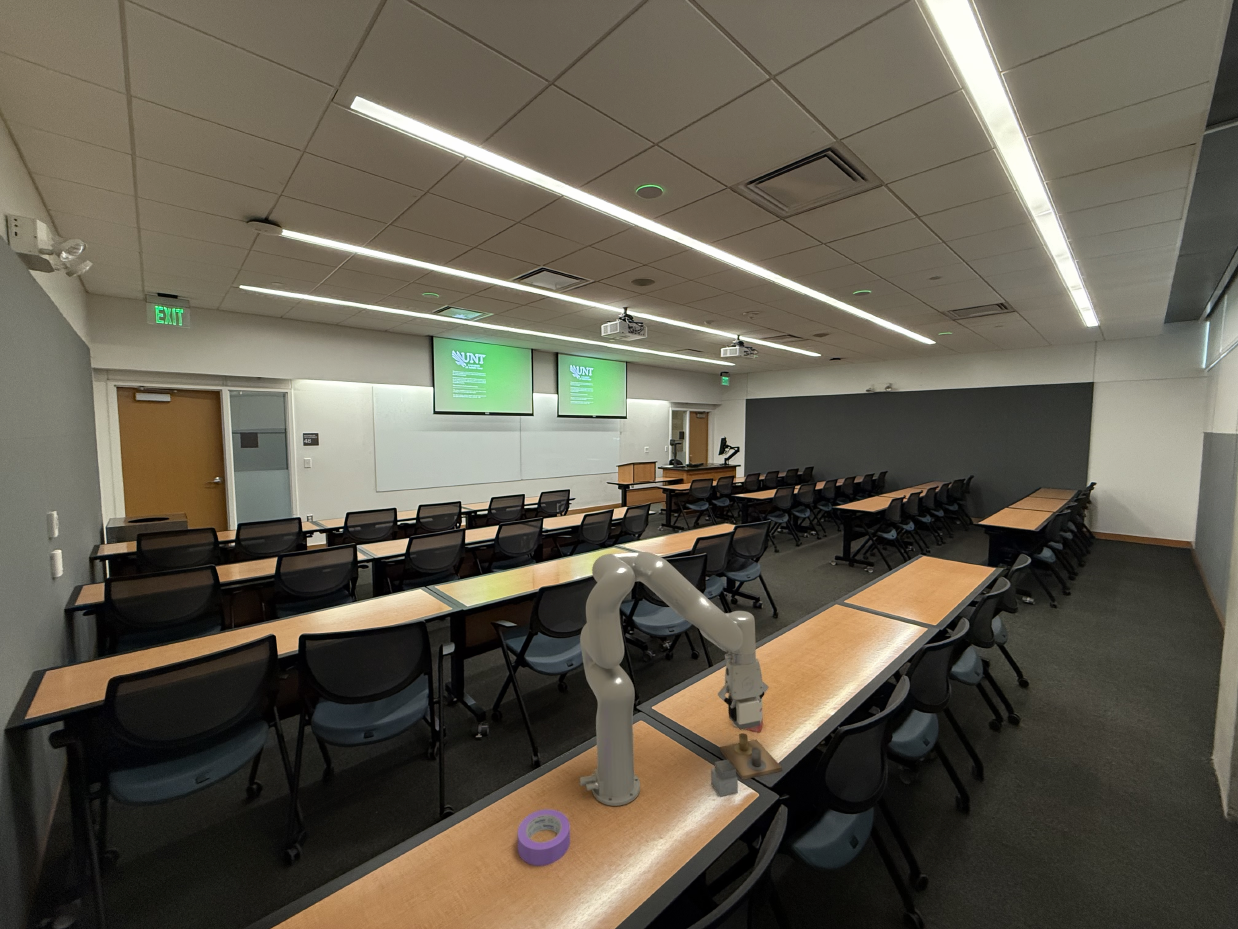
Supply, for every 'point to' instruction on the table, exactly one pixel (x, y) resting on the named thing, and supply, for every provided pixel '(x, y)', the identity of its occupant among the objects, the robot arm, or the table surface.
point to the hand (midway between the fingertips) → (744, 716)
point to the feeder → (724, 778)
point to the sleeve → (747, 713)
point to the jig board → (750, 758)
